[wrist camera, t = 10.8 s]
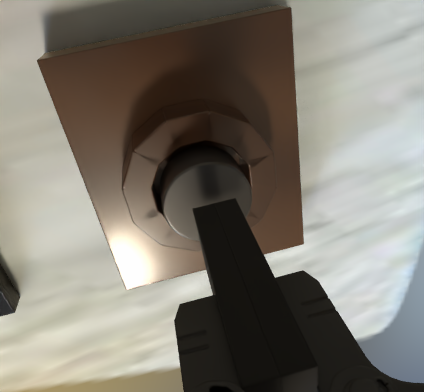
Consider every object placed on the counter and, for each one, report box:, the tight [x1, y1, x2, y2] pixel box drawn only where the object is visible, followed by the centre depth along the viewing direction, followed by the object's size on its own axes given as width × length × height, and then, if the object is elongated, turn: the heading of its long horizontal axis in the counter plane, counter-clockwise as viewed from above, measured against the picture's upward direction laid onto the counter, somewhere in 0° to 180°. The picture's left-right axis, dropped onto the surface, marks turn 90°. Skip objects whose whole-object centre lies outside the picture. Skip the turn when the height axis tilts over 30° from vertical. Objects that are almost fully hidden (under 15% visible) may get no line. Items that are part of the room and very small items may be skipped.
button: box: [160, 146, 252, 241], centre depth 16 cm, size 4×4×2 cm
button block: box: [37, 5, 304, 290], centre depth 18 cm, size 12×10×4 cm
